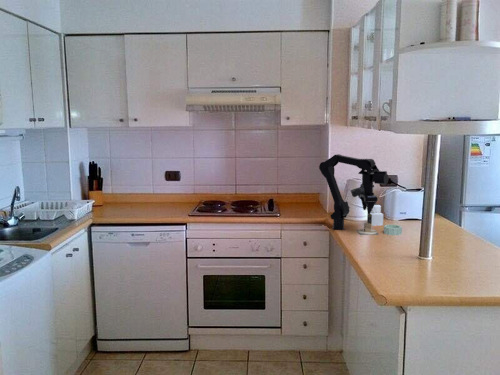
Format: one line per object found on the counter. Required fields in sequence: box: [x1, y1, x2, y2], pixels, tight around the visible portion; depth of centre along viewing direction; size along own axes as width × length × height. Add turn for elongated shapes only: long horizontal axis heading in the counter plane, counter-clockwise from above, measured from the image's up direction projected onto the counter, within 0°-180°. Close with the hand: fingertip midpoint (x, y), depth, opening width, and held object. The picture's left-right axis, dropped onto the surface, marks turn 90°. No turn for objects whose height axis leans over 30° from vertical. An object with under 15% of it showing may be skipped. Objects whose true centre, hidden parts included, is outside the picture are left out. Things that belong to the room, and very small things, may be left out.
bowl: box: [383, 224, 403, 236], centre depth 234 cm, size 9×9×4 cm
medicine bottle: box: [366, 203, 384, 227], centre depth 254 cm, size 7×7×12 cm
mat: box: [356, 229, 380, 236], centre depth 236 cm, size 10×10×1 cm
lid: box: [357, 223, 378, 236], centre depth 236 cm, size 10×10×5 cm
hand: (366, 211), depth 233 cm, fingers open, 9 cm apart
